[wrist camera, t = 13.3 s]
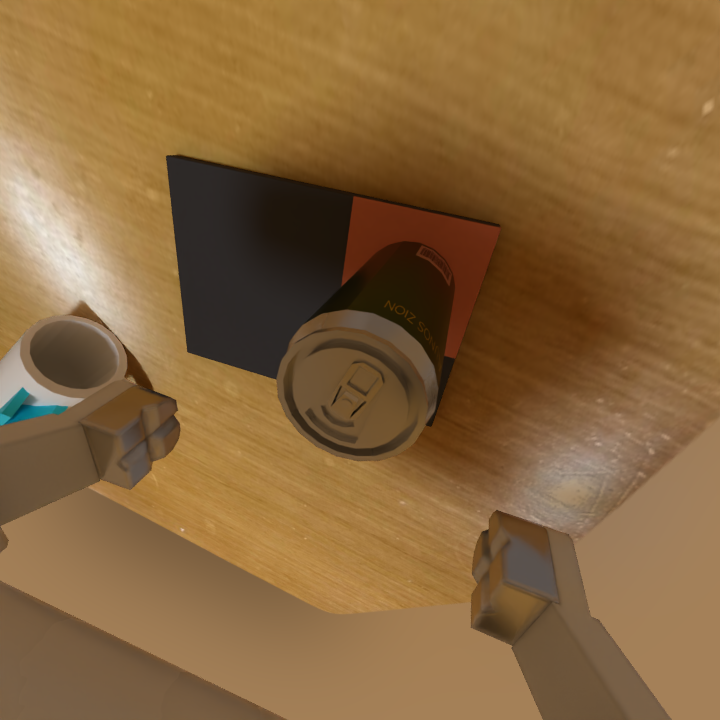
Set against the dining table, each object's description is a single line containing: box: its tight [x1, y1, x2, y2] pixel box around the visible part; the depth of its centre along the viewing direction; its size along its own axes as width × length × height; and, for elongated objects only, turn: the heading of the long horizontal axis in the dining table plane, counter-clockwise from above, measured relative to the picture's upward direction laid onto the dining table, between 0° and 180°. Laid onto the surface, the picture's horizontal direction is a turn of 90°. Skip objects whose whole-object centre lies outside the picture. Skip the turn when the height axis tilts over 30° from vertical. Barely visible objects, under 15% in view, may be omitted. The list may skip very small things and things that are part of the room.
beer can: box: [276, 241, 455, 461], centre depth 16 cm, size 5×5×12 cm
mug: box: [0, 315, 134, 426], centre depth 33 cm, size 12×9×12 cm
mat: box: [166, 155, 501, 427], centre depth 24 cm, size 20×14×1 cm
